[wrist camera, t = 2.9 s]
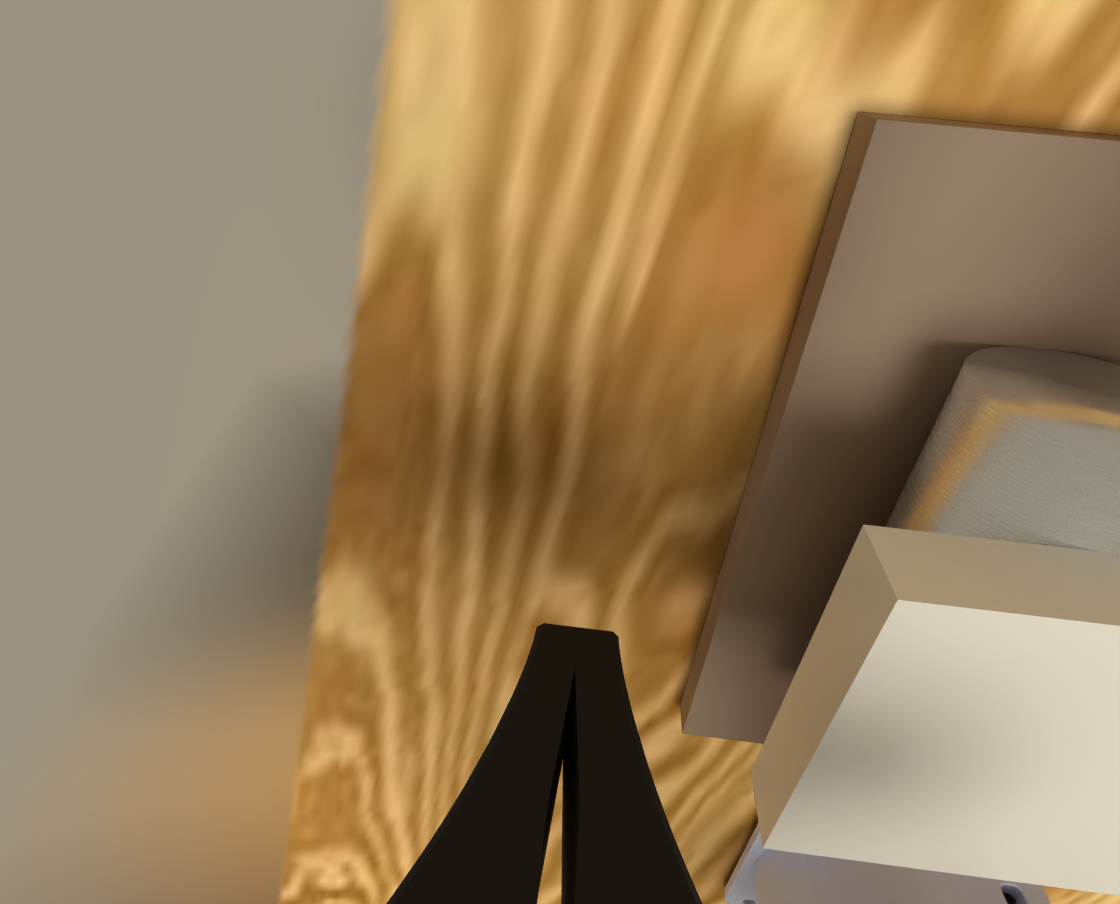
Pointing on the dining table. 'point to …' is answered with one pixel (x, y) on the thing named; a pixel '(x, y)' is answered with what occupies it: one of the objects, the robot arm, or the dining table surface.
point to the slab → (956, 714)
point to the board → (897, 363)
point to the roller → (1022, 453)
